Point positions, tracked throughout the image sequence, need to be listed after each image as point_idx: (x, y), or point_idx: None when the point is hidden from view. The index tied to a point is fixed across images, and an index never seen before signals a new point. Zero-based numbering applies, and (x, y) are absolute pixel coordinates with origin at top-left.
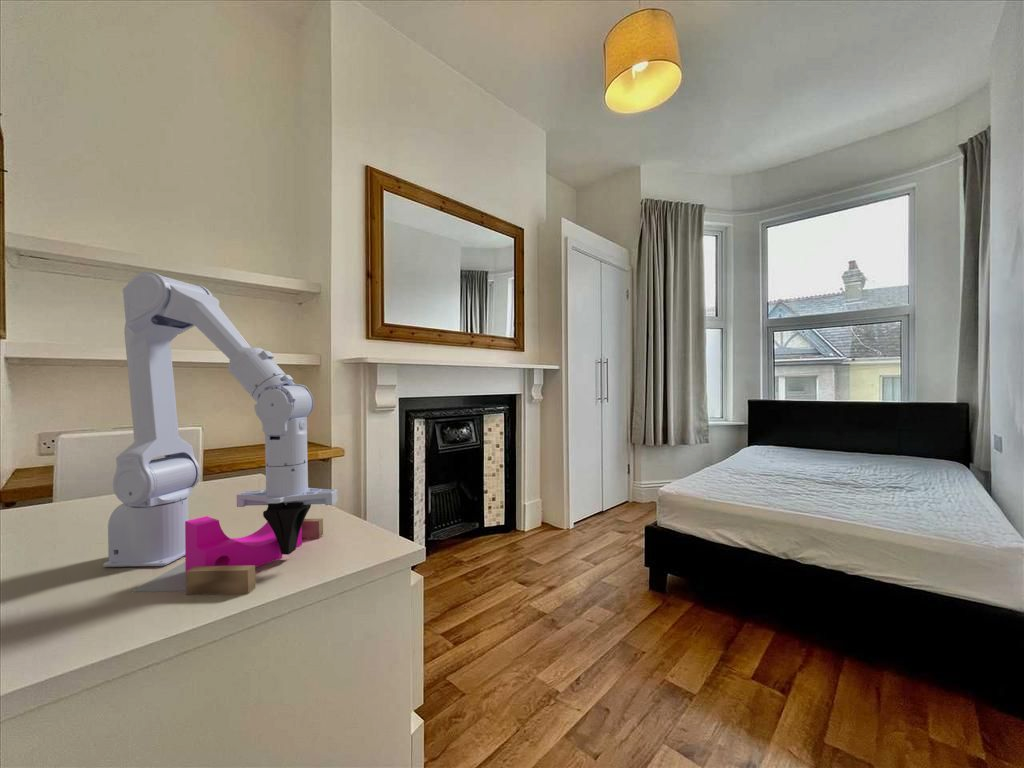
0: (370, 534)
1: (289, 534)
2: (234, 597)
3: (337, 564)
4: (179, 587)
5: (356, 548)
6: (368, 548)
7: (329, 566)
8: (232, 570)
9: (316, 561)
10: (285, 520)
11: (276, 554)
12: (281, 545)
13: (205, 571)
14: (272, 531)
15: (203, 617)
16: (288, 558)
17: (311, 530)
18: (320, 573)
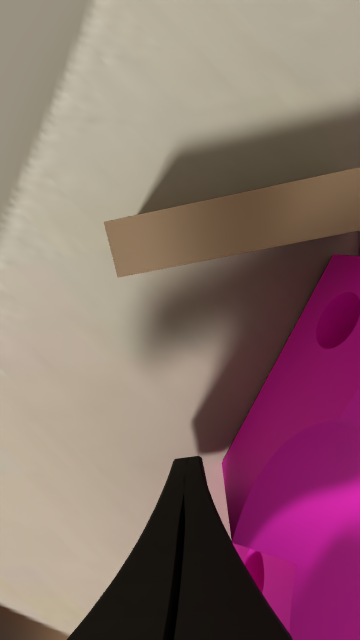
0: (79, 615)
1: (147, 526)
2: (155, 198)
3: (16, 444)
4: None
5: (46, 537)
6: (12, 540)
7: (28, 430)
8: (178, 208)
9: (95, 454)
10: (134, 611)
11: (231, 462)
12: (193, 480)
13: (313, 178)
14: (306, 569)
15: (141, 41)
16: None
17: None
18: (17, 387)
